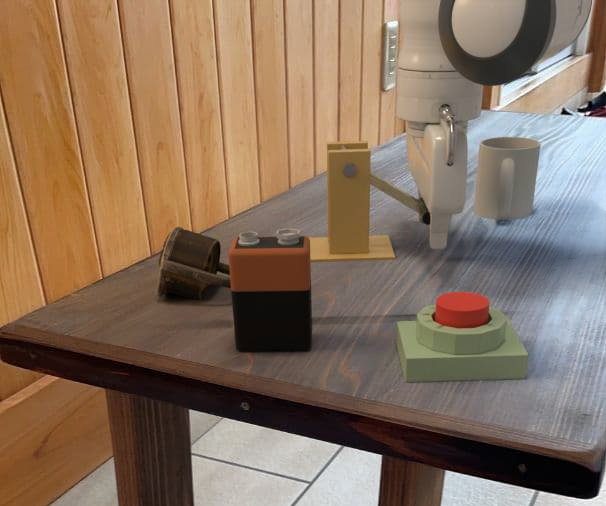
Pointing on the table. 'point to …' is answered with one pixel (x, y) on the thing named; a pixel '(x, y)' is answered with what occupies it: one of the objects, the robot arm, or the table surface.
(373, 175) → the lever
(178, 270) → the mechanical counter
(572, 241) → the table surface
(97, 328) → the table surface
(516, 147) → the cup
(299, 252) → the battery
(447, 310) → the button
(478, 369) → the switch block
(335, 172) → the bracket
